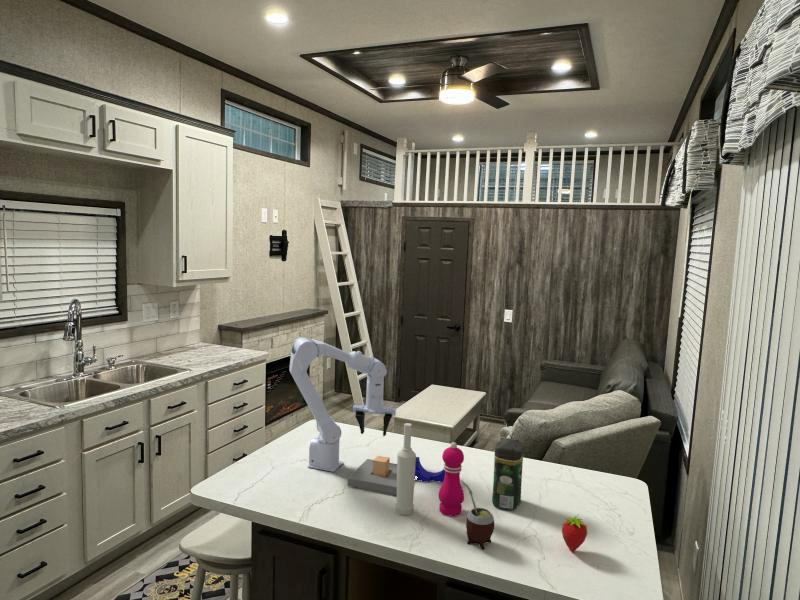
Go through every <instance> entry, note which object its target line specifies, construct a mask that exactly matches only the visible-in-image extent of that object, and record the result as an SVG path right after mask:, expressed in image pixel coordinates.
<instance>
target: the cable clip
mask: <svg viewBox="0 0 800 600" xmlns="http://www.w3.org/2000/svg"><path fill="white" fill-rule="evenodd" d="M415 476H417V477H418V478H417V480H422V481H421V482H424V481H428V482H427V483H430V482H431V480H434V481H433V482H438V481H440V482H439V483H443V481H444V478H445V470H444V468H442V470H440V471H437V472H432V471H429V470H427V469H425V468H424V466H423V465H422V463H421V461H420V456H416V463H415ZM417 480H416V481H417Z"/></svg>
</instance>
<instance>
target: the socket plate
mask: <svg viewBox="0 0 800 600" xmlns="http://www.w3.org/2000/svg"><path fill="white" fill-rule="evenodd" d="M373 460H374V459H369V458H367V459H366V460H365V461H363V463H362V464H360V465H359V466H358V468H356V469H355V470H354V471H353V472H352V473H351V474H350V475H349V476H348V477H347V482H346V483H347V487H351V486H352V487H351V488H356V487H358V488H357V489H362V490H366V489H367V490H368V491H371V490H372V492H376V491H377V493H383V494H387V495H393V496H397V463H393V462H390V463H389V475H388V476H387V477H382V476H377V475H373ZM367 490H366V491H367Z"/></svg>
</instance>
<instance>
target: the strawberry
mask: <svg viewBox="0 0 800 600" xmlns="http://www.w3.org/2000/svg"><path fill="white" fill-rule="evenodd" d="M579 515H580V514H579V513H578V514H577V515H575V516H574V517H570V516H567V518H564V520H566V521H564V522H563V524H562V527H561V534H562V539H563V540H564V542H565V545H566V546H567V548H568V550H569V551H570V552H571V553H574V552H575V551H576V550H578V548H579V547H581V545H582V544H583V543H584V542H585V540H586V538H587V536H588V527H587V524H585V523H584V522H583V521H582V520H583V519H582V518H577V517H578V516H579Z"/></svg>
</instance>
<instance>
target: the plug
mask: <svg viewBox="0 0 800 600" xmlns="http://www.w3.org/2000/svg"><path fill="white" fill-rule="evenodd" d="M372 460H373V475H377V476H382V477H387V476H388V475H389V463H391V462H390V461H391V460H390V457H388V456H382V455H377V456H375V458H374V459H372Z"/></svg>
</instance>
